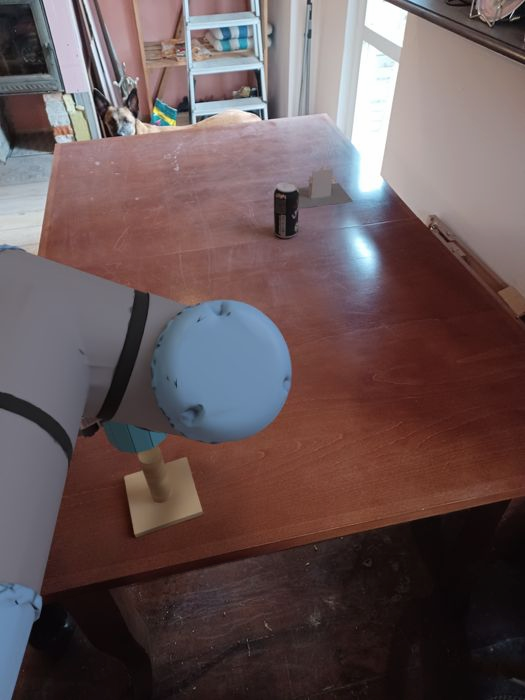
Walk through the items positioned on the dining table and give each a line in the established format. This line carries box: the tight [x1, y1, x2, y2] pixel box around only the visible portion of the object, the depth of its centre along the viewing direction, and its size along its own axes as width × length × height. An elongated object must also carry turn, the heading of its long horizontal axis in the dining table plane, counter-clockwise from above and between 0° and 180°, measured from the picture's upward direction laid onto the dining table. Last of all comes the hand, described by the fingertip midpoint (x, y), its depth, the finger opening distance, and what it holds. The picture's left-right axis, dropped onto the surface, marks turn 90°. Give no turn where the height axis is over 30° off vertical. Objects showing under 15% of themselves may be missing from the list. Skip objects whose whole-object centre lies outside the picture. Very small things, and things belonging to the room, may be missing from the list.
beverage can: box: [273, 181, 300, 239], centre depth 111 cm, size 6×6×12 cm
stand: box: [123, 445, 204, 538], centre depth 62 cm, size 9×9×10 cm
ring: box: [102, 420, 169, 454], centre depth 55 cm, size 8×8×8 cm
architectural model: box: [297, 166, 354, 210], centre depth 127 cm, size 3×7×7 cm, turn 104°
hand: (122, 394), depth 58 cm, fingers closed on ring, 8 cm apart
